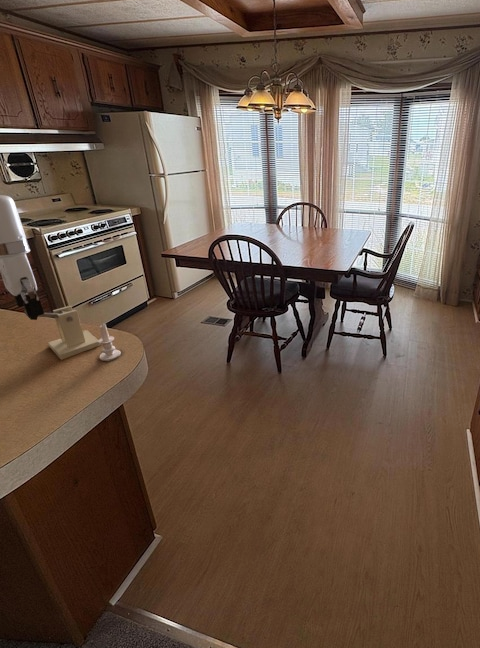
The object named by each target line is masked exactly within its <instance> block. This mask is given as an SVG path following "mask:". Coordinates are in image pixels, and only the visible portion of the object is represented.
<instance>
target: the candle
mask: <svg viewBox="0 0 480 648" xmlns="http://www.w3.org/2000/svg"><path fill="white" fill-rule="evenodd" d="M99 332H100V336H101V338H99V339H98V342H99V343H100V345H102V349H101V352H102V353H100V354H99V356H98V358H99V360H100V361H102V362H110V361H113V360H116V359H118V358H119V357H120V356H121V355H122V354H121V353H122V352H121V351H120V350H119V349H116V346H115V345H113V341H114V340H115V336H112V335H109V331H108V328H107V324H106V323H101V325H99Z"/></svg>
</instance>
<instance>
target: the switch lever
mask: <svg viewBox="0 0 480 648" xmlns="http://www.w3.org/2000/svg"><path fill="white" fill-rule="evenodd" d="M65 312H69V311H60V313H53V312H44V314H42V315H39V316H35V317H32V318H29V320H31V321H37V320H38V318H54V319H55V318H58V314H62V313H65ZM23 313H24V314H25V315H26V316H27V317H28V315H27V312H26V309H25V308H24V312H23ZM58 319H59V318H58Z"/></svg>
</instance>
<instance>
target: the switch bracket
mask: <svg viewBox="0 0 480 648" xmlns="http://www.w3.org/2000/svg"><path fill="white" fill-rule="evenodd" d="M60 311H69V312H65V313H62V314H58V318H59V319H58V318H54V319H55V323H56V327H57V330H58V333H59V336H60V338H57V339H55V340H51V341H48V342H47V344H48V347H49V348H50V349H51V350H52V352H53V353H54V354H55V355H56V356H57V357H58V358H59V360H64V359H67V358H70V357H73V356H75V355H78V354H80V353H83V352H85V351H90V350H91V349H94V348H98V347H100V346H101V343H99V342H98V340H99V339H98V338H97V337H96V336H94V334H92V332H90V331H89V330H88V329H86V330H83V326H82V324H81V320H80V317H79V316H80V315H79V313H78V310H77V309H73V306H72V305H67V306H64V307H60V308H56V309H53V310H52V313H60Z"/></svg>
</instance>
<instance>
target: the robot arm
mask: <svg viewBox="0 0 480 648" xmlns="http://www.w3.org/2000/svg"><path fill="white" fill-rule="evenodd" d="M30 252H31V248H30V245H29V242H28V239H27V236H26V233H25V230H24V227H23V223H22V220H21V217H20V215H19V211H18V208H17V205H16V203H15V200H14V199H13V197H11V196H9V195H6V194H0V275H1V278H2V281H3V284H4V287H5V289H6V290H7V291H8V292H9V293H10V294H11V295H12V296H13V297H14V299H15V303H16V305H17V307H18V308H21V307H24V310H25V309H26V312H27V315H28V316H27V315H26V316H27V318H28V319H30V318H32V317H35V316H39V315H42V314H44V313H45V311H44V308H43V305H42V302H41V300H40V298H39V295H38V294H37V291H38V286H37V285H38V284H37V282H36V278H35V276H34V272H33V270H32V267H31V264H30V261H29V259H28V256H27V254H28V253H30Z"/></svg>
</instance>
